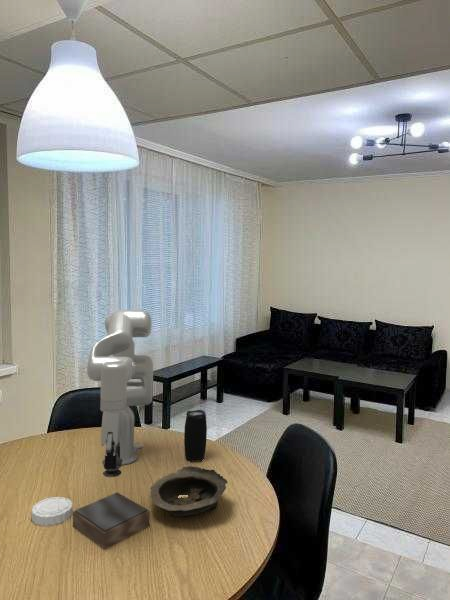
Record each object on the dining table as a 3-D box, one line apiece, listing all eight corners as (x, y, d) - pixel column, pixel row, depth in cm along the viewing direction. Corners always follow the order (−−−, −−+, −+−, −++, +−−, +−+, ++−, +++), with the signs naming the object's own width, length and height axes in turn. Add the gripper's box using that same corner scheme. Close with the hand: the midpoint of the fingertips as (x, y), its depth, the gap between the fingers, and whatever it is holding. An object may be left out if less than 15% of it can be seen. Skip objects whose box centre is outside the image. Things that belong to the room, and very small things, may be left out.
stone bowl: (235, 496, 154) (236, 470, 152) (209, 542, 130) (209, 512, 129) (170, 481, 162) (170, 457, 160) (134, 522, 138) (134, 494, 137)
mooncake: (31, 509, 141) (31, 498, 141) (71, 503, 146) (71, 492, 146) (31, 530, 131) (31, 518, 130) (74, 522, 135) (74, 510, 135)
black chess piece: (117, 478, 129) (118, 438, 128) (98, 476, 130) (99, 435, 130) (125, 470, 135) (126, 431, 134) (107, 467, 136) (108, 429, 135)
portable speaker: (179, 460, 182) (180, 412, 181) (193, 452, 190) (194, 407, 189) (196, 465, 177) (197, 417, 176) (210, 457, 185) (211, 411, 184)
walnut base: (117, 506, 145) (117, 491, 145) (149, 525, 134) (149, 509, 134) (72, 526, 133) (72, 510, 132) (104, 549, 122) (104, 531, 122)
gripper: (106, 395, 140) (105, 452, 141) (94, 413, 122) (93, 477, 124) (130, 396, 140) (129, 452, 141) (122, 413, 123) (120, 477, 124)
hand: (112, 463), depth 132 cm, fingers closed on black chess piece, 5 cm apart
